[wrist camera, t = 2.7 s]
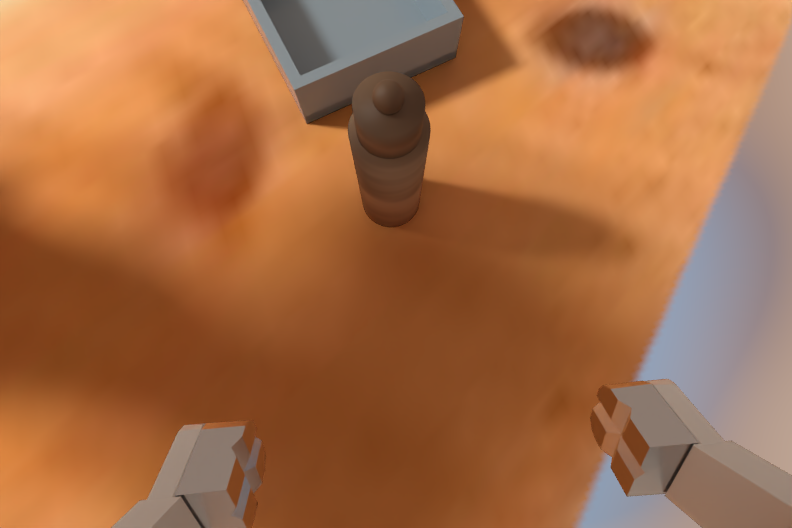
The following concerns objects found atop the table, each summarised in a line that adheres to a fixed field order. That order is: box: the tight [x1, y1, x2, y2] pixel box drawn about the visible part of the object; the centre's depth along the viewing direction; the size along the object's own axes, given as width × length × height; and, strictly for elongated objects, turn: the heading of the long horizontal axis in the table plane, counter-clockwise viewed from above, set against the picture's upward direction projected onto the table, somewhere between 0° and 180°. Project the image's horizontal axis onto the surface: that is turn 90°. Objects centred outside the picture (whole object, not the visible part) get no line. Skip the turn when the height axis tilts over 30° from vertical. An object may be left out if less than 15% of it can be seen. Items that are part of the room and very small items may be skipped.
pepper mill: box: [348, 71, 430, 227], centre depth 22 cm, size 4×4×12 cm
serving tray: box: [243, 0, 464, 123], centre depth 29 cm, size 14×13×4 cm
